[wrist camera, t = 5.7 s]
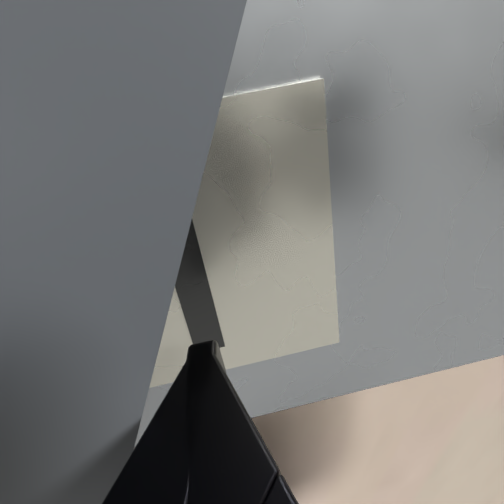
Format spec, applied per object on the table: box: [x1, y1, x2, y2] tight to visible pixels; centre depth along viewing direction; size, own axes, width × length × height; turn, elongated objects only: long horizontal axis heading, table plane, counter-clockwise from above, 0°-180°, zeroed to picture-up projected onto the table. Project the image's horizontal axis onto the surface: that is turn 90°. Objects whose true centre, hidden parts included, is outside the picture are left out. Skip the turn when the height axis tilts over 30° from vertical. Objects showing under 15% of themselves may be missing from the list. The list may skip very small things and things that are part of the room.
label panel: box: [134, 0, 504, 447], centre depth 10 cm, size 12×24×2 cm, turn 99°
